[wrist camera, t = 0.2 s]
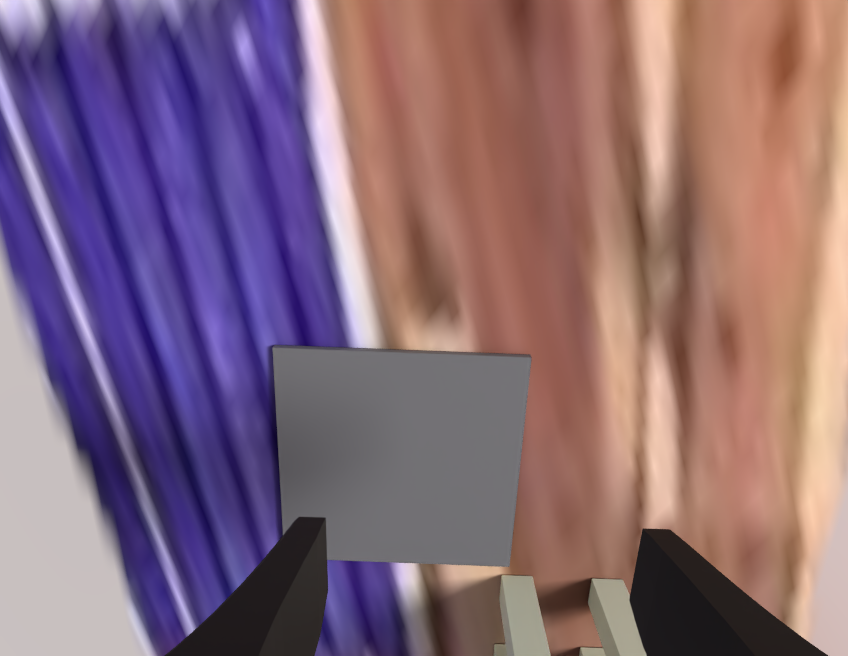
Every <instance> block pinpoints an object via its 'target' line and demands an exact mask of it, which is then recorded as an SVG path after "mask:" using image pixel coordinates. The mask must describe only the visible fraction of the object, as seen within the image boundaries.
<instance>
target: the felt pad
mask: <svg viewBox="0 0 848 656" xmlns="http://www.w3.org/2000/svg"><path fill="white" fill-rule="evenodd" d="M273 366H274V384H275V401H276V419H277V437H278V455H279V473H280V490H281V508H282V526H283V535H284V534H285V532H286V531H287V530H288V528H289V527H290V526H291V525H292V523H293V522H294V521H295V520H296V519H297V518H298V517H325V518H326V540H327V560H346V561H372V562H398V563H424V564H450V565H476V566H502V567H509V565H510V556H511V546H512V537H513V527H514V518H515V508H516V499H517V489H518V480H519V470H520V461H521V451H522V442H523V433H524V423H525V414H526V404H527V395H528V385H529V376H530V366H531V356H530V355H525V354H499V353H472V352H446V351H420V350H393V349H367V348H341V347H315V346H288V345H274V346H273Z"/></svg>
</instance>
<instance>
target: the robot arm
mask: <svg viewBox="0 0 848 656" xmlns="http://www.w3.org/2000/svg"><path fill="white" fill-rule="evenodd" d="M327 593H328V574H327V540H326V518H325V517H298V518H297V519H296V520H295V521H294V522H293V523H292V525H291V526H290V527H289V528H288V530H287V531H286V532H285V534H284V535H283V536H282V537H281V539H280V540H279V541H278V542H277V544H276V545H275V546H274V547H273V548H272V550H271V551H270V552H269V553H268V554H267V556H266V557H265V558H264V559H263V560H262V561H261V563H260V564H259V565H258V566H257V567H256V568H255V569H254V571H253V572H252V573H251V574H250V575H249V576H248V577H247V578H246V580H245V581H244V582H243V583H242V584H241V585H240V586H239V587H238V588H237V589H236V590H235V591H234V592H233V593H232V594H231V595H230V596H229V597H228V598H227V599H226V600H225V601H224V602H223V603H222V604H221V605H220V606H219V608H218V609H217V610H216V611H215V612H214V613H212V614H211V615H210V616H209V617H208V618H207V619H206V620H205V621H204V622H203V623H202V624H201V625H200V626H199V627H198V628H196V629H195V630H194V631H193V632H192V633H191V634H190V635H189V636H187V637H186V638H185V639H184V640H183V641H182V642H181V643H179V644H178V645H177V646H176V647H175V648H173V649H172V650H171V651H170V652H169V653H167V654H166V655H165V656H314V655H315V651H316V648H317V644H318V641H319V637H320V633H321V627H322V622H323V616H324V610H325V604H326V598H327ZM629 601H630V605H631V608H632V612H633V615H634V619H635V622H636V626H637V629H638V632H639V635H640V638H641V642H642V645H643V648H644V650H645V652H646V655H647V656H828V655H826V654H825V653H824V652H822V651H821V650H819V649H818V648H816V647H815V646H813V645H812V644H811V643H809V642H808V641H806V640H805V639H804V638H802V637H801V636H800V635H798V634H797V633H796V632H794V631H793V630H792V629H790V628H789V627H788V626H786V625H785V624H784V623H782V622H781V621H780V620H778V619H777V618H776V617H775V616H773V615H772V614H771V613H769V612H768V611H767V610H766V609H764V608H763V607H762V606H761V605H759V604H758V603H757V602H756V601H754V600H753V599H752V598H751V597H749V596H748V595H747V594H746V593H744V592H743V591H742V590H741V589H740V588H738V587H737V586H736V585H735V584H734V583H732V582H731V581H730V580H729V579H728V578H727V577H725V576H724V575H723V574H722V573H721V572H720V571H718V570H717V569H716V568H715V567H714V566H713V565H711V564H710V563H709V562H708V561H707V560H706V559H704V558H703V557H702V556H701V555H700V554H699V553H697V552H696V551H695V550H694V549H693V548H692V547H690V546H689V545H688V544H687V543H686V542H685V541H683V540H682V539H681V538H680V537H679V536H677V535H676V534H675V533H674V532H672V531H671V530H668V529H643V530H642V535H641V541H640V546H639V551H638V557H637V562H636V567H635V573H634V578H633V583H632V589H631V594H630V599H629Z"/></svg>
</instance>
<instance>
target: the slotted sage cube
mask: <svg viewBox="0 0 848 656" xmlns="http://www.w3.org/2000/svg"><path fill="white" fill-rule="evenodd" d="M629 599H630V595H629V593H628V591H627V588H626V586H625V584H624V581H623V580H618V579H592V581H591V587H590V593H589V599H588V605H589V608H590V611H591V614H592V617H593V620H594V623H595V626H596V628H597V631H598V634H599V637H600V640H601V643H602V646H603V648H587V647H580V653H579V656H647V655H646V652H645V650H644V648H643V645H642V642H641V638H640V635H639V632H638V629H637V626H636V622H635V619H634V615H633V612H632V608H631V605H630V601H629ZM499 602H500V609H501V616H502V623H503V630H504V636H505V643H506V644H495V645H494V655H493V656H551V655H550V651H549V646H548V642H547V638H546V633H545V629H544V624H543V620H542V616H541V611H540V607H539V603H538V598H537V594H536V590H535V585H534V581H533V577H532V576H514V575H501V585H500V595H499Z"/></svg>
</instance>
